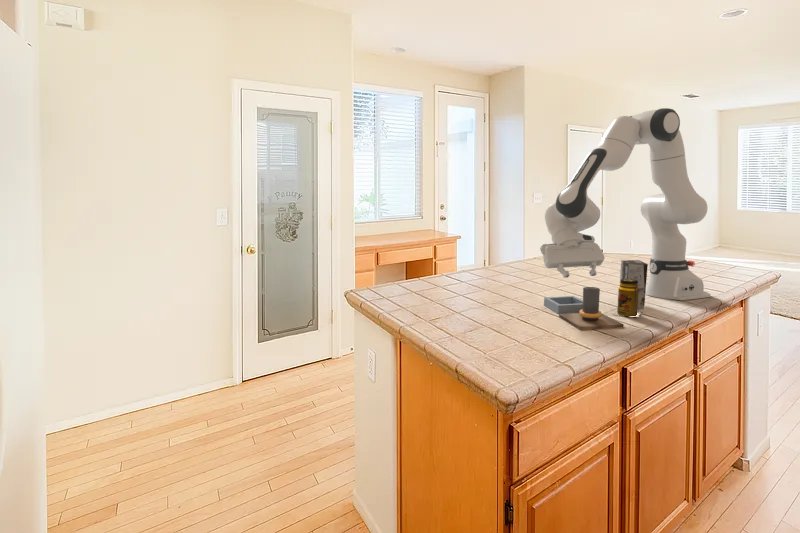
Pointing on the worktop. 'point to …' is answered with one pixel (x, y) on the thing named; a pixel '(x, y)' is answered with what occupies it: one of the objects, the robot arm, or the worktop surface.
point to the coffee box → (636, 277)
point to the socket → (564, 304)
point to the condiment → (628, 297)
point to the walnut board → (590, 322)
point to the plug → (590, 304)
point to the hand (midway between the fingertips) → (580, 275)
